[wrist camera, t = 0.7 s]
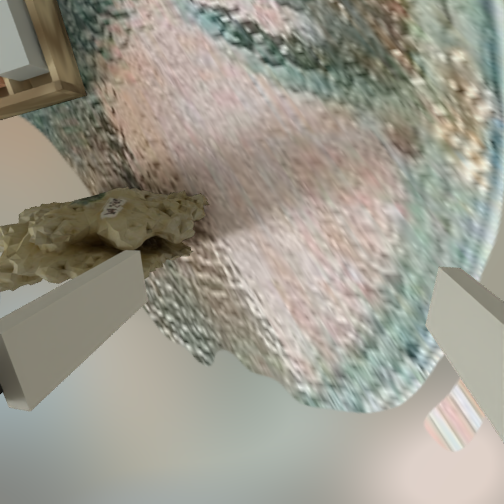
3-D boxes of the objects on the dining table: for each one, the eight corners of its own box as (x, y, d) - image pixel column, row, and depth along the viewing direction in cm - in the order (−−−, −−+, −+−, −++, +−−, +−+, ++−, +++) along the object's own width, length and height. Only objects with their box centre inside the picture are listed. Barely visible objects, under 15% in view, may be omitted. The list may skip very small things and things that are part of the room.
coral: (77, 247, 46) (-77, 309, 28) (60, 186, 43) (-126, 210, 25) (223, 247, 41) (154, 322, 23) (216, 178, 38) (129, 201, 20)
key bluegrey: (-4, 16, 34) (-32, 3, 31) (28, 3, 33) (2, -11, 30) (20, 81, 36) (-4, 75, 33) (52, 71, 35) (29, 64, 32)
